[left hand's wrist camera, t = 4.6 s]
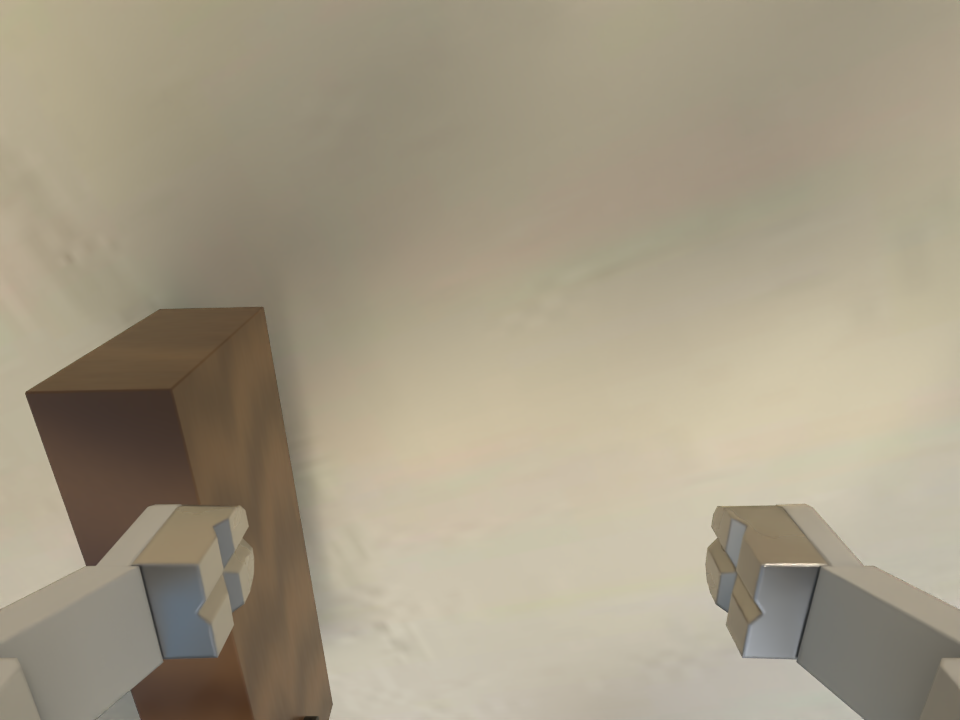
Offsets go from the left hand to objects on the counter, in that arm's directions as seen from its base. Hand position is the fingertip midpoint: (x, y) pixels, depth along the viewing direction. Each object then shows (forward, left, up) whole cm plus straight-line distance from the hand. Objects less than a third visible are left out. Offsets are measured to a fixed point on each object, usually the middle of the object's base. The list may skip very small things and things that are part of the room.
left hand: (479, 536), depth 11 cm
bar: (+14, -12, -17) cm, 25 cm away
